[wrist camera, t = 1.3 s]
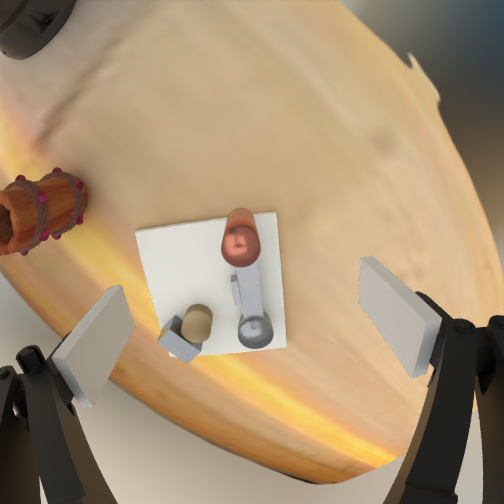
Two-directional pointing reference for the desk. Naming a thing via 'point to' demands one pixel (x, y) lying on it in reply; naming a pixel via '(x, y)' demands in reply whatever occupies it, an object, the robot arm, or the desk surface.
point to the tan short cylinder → (197, 323)
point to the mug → (39, 210)
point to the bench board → (210, 278)
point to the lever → (246, 278)
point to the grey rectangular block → (178, 341)
